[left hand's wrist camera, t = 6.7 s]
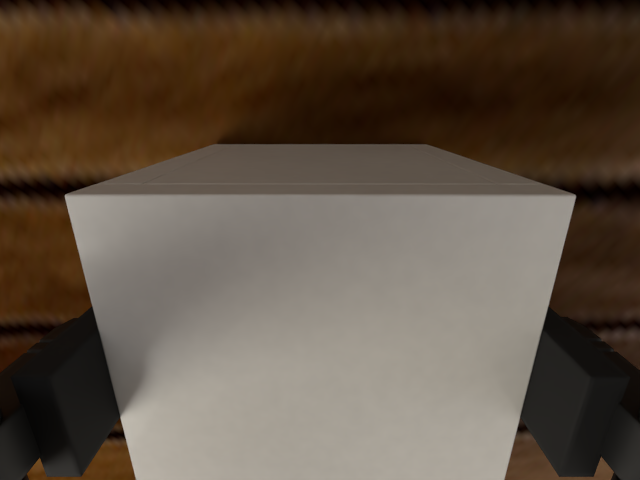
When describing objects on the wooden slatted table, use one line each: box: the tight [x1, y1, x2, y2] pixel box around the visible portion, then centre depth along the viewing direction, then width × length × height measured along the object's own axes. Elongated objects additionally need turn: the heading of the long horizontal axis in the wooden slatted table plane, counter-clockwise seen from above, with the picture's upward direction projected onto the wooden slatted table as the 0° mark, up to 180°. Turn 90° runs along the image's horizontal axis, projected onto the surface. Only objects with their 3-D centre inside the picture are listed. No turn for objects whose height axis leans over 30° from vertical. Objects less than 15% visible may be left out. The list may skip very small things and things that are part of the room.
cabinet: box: [65, 144, 576, 480], centre depth 16 cm, size 20×10×11 cm, turn 0°
